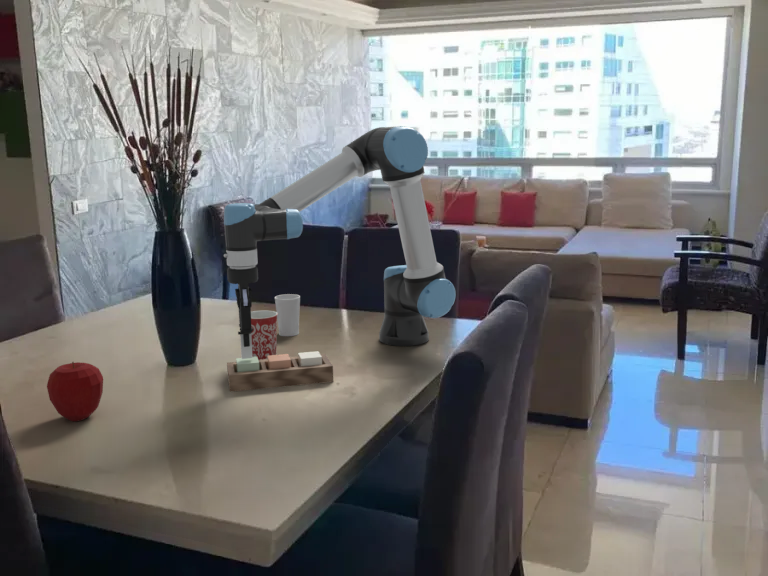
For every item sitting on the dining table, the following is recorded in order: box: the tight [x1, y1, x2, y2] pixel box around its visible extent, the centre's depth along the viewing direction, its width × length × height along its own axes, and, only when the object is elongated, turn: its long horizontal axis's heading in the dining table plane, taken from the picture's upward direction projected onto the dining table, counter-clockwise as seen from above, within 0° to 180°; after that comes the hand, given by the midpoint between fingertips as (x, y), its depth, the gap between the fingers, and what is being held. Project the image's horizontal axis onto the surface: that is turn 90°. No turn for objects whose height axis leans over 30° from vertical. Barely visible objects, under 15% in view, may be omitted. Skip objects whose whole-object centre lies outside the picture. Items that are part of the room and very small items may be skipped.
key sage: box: [235, 357, 259, 372], centre depth 190 cm, size 5×5×4 cm
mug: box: [251, 310, 278, 360], centre depth 210 cm, size 13×9×14 cm
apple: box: [46, 361, 104, 422], centre depth 168 cm, size 12×12×13 cm
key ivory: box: [297, 350, 322, 367], centre depth 194 cm, size 5×5×4 cm
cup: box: [274, 293, 301, 337], centre depth 236 cm, size 8×8×12 cm
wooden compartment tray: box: [226, 353, 334, 393], centre depth 192 cm, size 26×11×4 cm, turn 104°
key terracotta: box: [267, 353, 291, 369], centre depth 192 cm, size 5×5×4 cm
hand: (246, 357), depth 189 cm, fingers closed
